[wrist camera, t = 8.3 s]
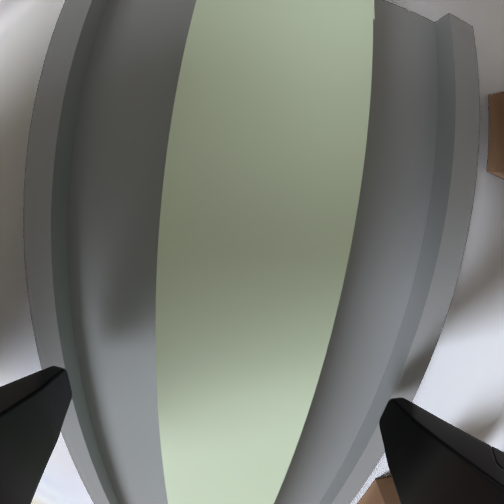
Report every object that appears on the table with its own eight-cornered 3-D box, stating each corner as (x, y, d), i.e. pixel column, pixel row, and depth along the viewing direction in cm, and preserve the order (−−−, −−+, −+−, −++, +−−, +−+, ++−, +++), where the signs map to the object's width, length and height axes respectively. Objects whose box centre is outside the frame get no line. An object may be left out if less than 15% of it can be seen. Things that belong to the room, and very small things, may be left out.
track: (109, 503, 12) (104, 522, 10) (98, -14, 6) (81, -35, 5) (316, 520, 12) (320, 539, 11) (448, 39, 7) (472, 26, 6)
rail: (241, 525, 11) (243, 569, 8) (183, 520, 11) (178, 564, 8) (334, 7, 6) (372, -51, 3) (223, -10, 6) (219, -78, 3)
